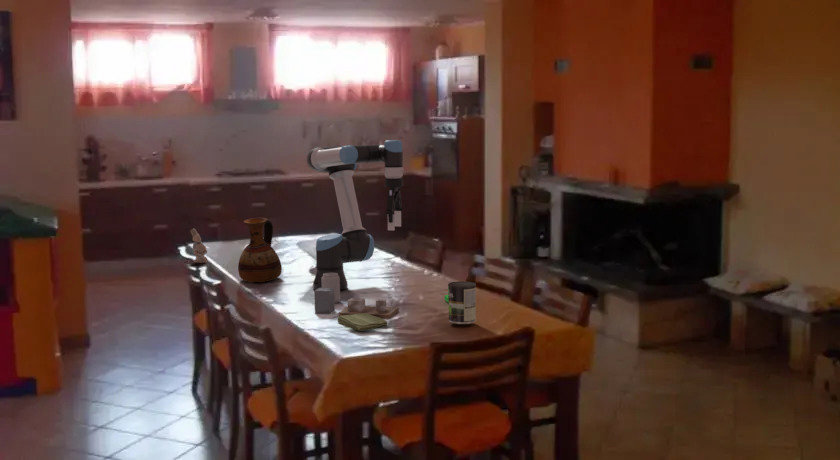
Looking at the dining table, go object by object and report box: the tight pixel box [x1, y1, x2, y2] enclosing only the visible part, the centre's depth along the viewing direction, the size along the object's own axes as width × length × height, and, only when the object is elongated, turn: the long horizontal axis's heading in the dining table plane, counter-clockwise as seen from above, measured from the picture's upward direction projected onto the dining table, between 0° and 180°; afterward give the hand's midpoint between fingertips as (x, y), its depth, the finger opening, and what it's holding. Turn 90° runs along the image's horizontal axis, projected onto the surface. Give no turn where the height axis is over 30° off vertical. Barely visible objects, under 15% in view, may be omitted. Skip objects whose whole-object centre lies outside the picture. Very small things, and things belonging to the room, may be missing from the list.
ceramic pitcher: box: [237, 216, 283, 283], centre depth 436 cm, size 20×20×30 cm
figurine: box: [190, 228, 208, 264], centre depth 481 cm, size 9×8×20 cm
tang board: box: [338, 297, 400, 320], centre depth 362 cm, size 20×14×6 cm
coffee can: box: [447, 280, 477, 325], centre depth 347 cm, size 10×10×14 cm
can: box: [321, 273, 341, 304], centre depth 386 cm, size 8×8×12 cm
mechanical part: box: [444, 288, 449, 304], centre depth 384 cm, size 12×6×8 cm, turn 12°
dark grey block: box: [313, 288, 336, 315], centre depth 366 cm, size 6×6×9 cm
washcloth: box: [337, 313, 388, 331], centre depth 345 cm, size 13×18×3 cm
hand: (394, 228), depth 391 cm, fingers open, 13 cm apart
